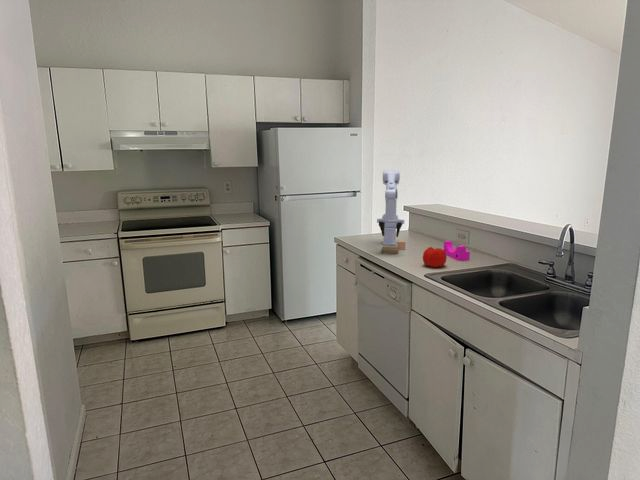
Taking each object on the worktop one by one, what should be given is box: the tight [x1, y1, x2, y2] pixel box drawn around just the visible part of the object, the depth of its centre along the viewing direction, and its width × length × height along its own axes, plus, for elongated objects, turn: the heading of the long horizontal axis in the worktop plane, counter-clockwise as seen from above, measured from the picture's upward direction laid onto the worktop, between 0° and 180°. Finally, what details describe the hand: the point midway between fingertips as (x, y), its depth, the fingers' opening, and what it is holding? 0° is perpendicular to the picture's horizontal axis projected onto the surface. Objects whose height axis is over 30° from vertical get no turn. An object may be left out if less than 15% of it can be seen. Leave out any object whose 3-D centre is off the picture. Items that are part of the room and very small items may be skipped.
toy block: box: [443, 240, 471, 262], centre depth 239 cm, size 15×6×8 cm, turn 16°
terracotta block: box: [396, 239, 406, 251], centre depth 257 cm, size 4×4×5 cm
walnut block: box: [381, 245, 400, 255], centre depth 251 cm, size 9×9×3 cm
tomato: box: [422, 246, 448, 269], centre depth 221 cm, size 11×12×9 cm
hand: (390, 236), depth 244 cm, fingers open, 7 cm apart
